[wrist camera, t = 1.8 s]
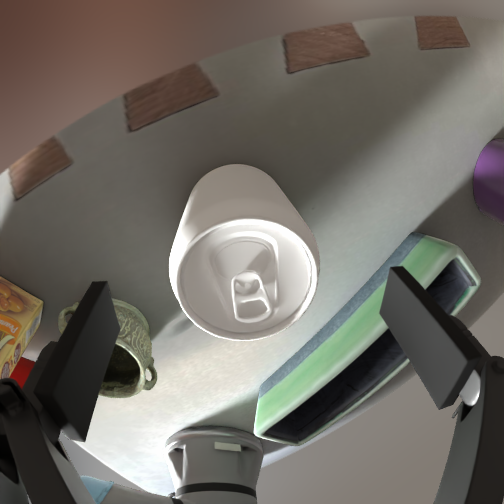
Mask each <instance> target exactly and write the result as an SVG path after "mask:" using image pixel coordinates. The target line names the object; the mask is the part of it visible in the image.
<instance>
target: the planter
mask: <svg viewBox="0 0 504 504" xmlns="http://www.w3.org/2000/svg"><path fill="white" fill-rule="evenodd" d="M395 266H403V267H404V268H405V269H406V270H407V271H408V272H409V273H410V274H411V275H412V276H413V277H414V278H415V279H416V280H417V281H418V282H419V283H420V284H421V285H422V286H423V288H424V289H425V290H426V291H427V292H428V293H429V294H430V295H431V296H432V297H433V298H434V300H435V301H436V302H437V303H438V304H439V305H440V306H441V307H442V308H443V310H444V311H445V312H446V313H447V314H448V315H453V316H454V317H455V316H456V315H457V314H458V313H459V312H460V310H461V309H462V308H463V307H464V306H465V305H466V304H467V302H468V301H469V300H470V299H471V298H472V296H473V295H474V294H475V293H476V291H477V290H478V289H479V287H480V285H481V278H480V276H479V275H478V273H477V272H476V270H475V268H474V267H473V265H472V264H471V262H470V261H469V259H468V258H467V256H466V255H465V254H464V252H463V251H462V250H461V248H460V247H459V246H457V245H455V244H453V243H450V242H448V241H445V240H442V239H438V238H435V237H432V236H429V235H425V234H421V233H417V232H412V233H411V234H410V235H409V236H408V237H407V238H406V239H405V240H404V241H403V242H402V244H401V245H400V246H399V247H398V248H397V249H396V251H395V252H394V253H393V254H392V255H391V256H390V257H389V258H388V260H387V261H386V262H385V263H384V264H383V265H382V266H381V267H380V269H379V270H378V271H377V272H376V273H375V274H374V275H373V276H372V277H371V278H370V279H369V281H368V282H367V283H366V284H365V285H364V286H363V287H362V288H361V289H360V290H359V291H358V292H357V293H356V294H355V295H354V297H353V298H352V299H351V300H350V301H349V302H348V303H347V304H346V305H345V306H344V307H343V308H342V309H341V310H340V311H339V312H338V313H337V314H336V315H335V316H334V317H333V318H332V319H331V320H330V321H329V322H328V323H327V324H326V325H325V326H324V327H323V328H322V329H321V330H320V331H319V332H318V333H317V334H316V335H315V336H314V337H313V338H312V339H311V340H310V341H309V342H307V343H306V344H305V345H304V346H303V347H302V348H301V349H300V350H299V351H298V352H297V353H296V354H295V355H294V356H293V357H291V358H290V359H289V360H288V361H287V362H286V363H285V364H284V365H283V366H282V367H280V368H279V369H278V370H277V371H276V372H275V373H274V374H273V375H272V376H270V377H269V378H268V379H267V380H266V381H265V382H264V383H263V384H262V385H261V387H260V392H259V398H258V404H257V410H256V417H255V424H254V434H255V435H256V436H258V437H260V438H264V439H267V440H271V441H275V442H279V443H283V444H287V445H291V446H300V445H302V444H304V443H306V442H307V441H309V440H311V439H312V438H314V437H315V436H317V435H318V434H320V433H321V432H323V431H324V430H326V429H327V428H329V427H330V426H331V425H333V424H334V423H336V422H337V421H339V420H340V419H341V418H343V417H344V416H345V415H347V414H348V413H349V412H351V411H352V410H353V409H355V408H356V407H357V406H359V405H360V404H361V403H363V402H364V401H365V400H366V399H368V398H369V397H370V396H371V395H373V394H374V393H375V392H376V391H378V390H379V389H380V388H381V387H382V386H384V385H385V384H386V383H387V382H388V381H389V380H391V379H392V378H393V377H394V376H395V375H396V374H397V373H399V372H400V371H401V370H402V369H403V368H404V367H405V366H406V365H407V364H409V363H410V361H409V359H408V357H407V356H406V354H405V353H404V351H403V349H402V348H401V346H400V345H399V343H398V342H397V340H396V338H395V337H394V335H393V334H392V332H391V331H390V329H389V328H388V326H387V325H386V323H385V322H384V320H383V319H382V317H381V316H380V314H379V311H380V307H381V303H382V299H383V295H384V291H385V287H386V283H387V278H388V274H389V269H390V267H395Z"/></svg>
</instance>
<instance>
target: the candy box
mask: <svg viewBox="0 0 504 504" xmlns="http://www.w3.org/2000/svg"><path fill="white" fill-rule="evenodd" d="M42 309H43V301H41V300H39V299H38V298H36V297H34V296H32V295H31V294H29V293H27V292H26V291H24V290H22V289H21V288H19V287H17V286H16V285H14V284H12V283H11V282H9V281H7V280H6V279H4V278H3V277H1V276H0V379H3V378H9V377H10V375H11V373H12V371H13V370H14V368H15V366H16V364H17V362H18V361H19V359H20V357H21V355H22V354H23V352H24V350H25V349H26V347H27V345H28V344H29V342H30V340H31V339H32V337H33V335H34V334H35V332H36V330H37V329H38V327H39V325H40V321H41V314H42Z"/></svg>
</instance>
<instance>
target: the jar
mask: <svg viewBox="0 0 504 504" xmlns="http://www.w3.org/2000/svg"><path fill="white" fill-rule="evenodd" d="M473 191H474V197H475V201H476V204H477V206H478V208H479V210H480V211H481V212H482V213H483V214H484V215H486V216H487V217H489V218H491V219H493V220H494V221H496V222H498V223H499V224H501V225H503V226H504V139H501V138H498V139H494V140H492V141H490V142H489V143H488V144H487V145H486V146H485V147H484V149H483V150H482V152H481V154H480V156H479V158H478V160H477V163H476V167H475V171H474V179H473Z"/></svg>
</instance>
